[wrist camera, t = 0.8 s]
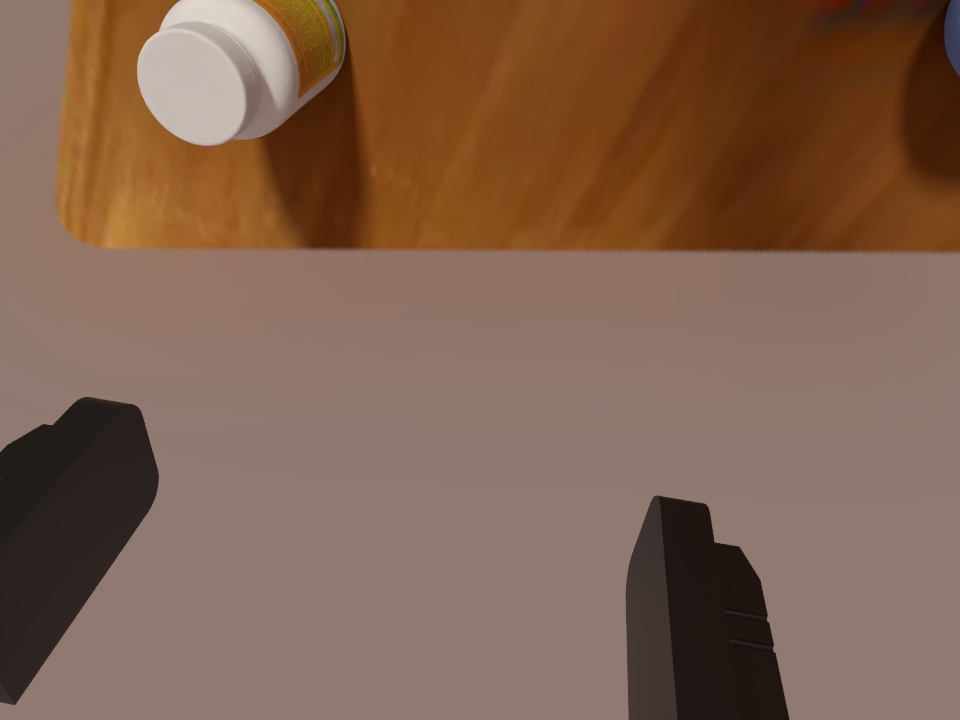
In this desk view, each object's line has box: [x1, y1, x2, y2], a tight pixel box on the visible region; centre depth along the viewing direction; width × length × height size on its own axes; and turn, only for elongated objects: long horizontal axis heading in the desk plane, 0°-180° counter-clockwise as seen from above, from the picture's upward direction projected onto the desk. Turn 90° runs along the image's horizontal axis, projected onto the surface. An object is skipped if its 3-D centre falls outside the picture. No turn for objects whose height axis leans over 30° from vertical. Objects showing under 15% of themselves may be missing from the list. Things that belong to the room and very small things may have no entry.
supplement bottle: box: [137, 0, 346, 146], centre depth 28 cm, size 5×5×10 cm
